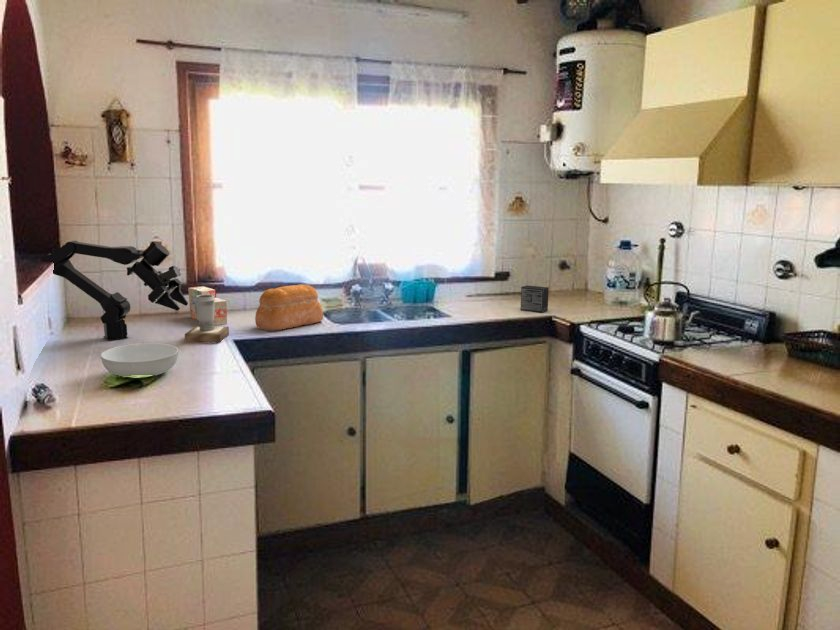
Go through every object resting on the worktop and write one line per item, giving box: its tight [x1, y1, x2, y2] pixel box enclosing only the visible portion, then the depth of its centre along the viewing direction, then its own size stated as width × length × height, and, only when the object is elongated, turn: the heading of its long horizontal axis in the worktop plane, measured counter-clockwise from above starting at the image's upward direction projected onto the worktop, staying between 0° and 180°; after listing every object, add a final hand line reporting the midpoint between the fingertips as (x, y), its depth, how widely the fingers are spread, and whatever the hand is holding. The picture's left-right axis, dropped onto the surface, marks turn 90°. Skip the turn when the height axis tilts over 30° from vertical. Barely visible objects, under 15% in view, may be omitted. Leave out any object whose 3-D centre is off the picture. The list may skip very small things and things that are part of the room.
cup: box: [195, 295, 215, 331], centre depth 244 cm, size 7×7×12 cm
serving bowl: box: [100, 342, 179, 377], centre depth 201 cm, size 21×21×7 cm
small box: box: [520, 284, 549, 314], centre depth 301 cm, size 11×6×10 cm, turn 58°
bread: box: [254, 283, 324, 331], centre depth 268 cm, size 14×26×15 cm, turn 139°
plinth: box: [184, 326, 230, 344], centre depth 245 cm, size 12×12×3 cm
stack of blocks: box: [188, 285, 228, 327], centre depth 274 cm, size 21×6×12 cm, turn 40°
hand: (183, 307), depth 243 cm, fingers open, 9 cm apart
